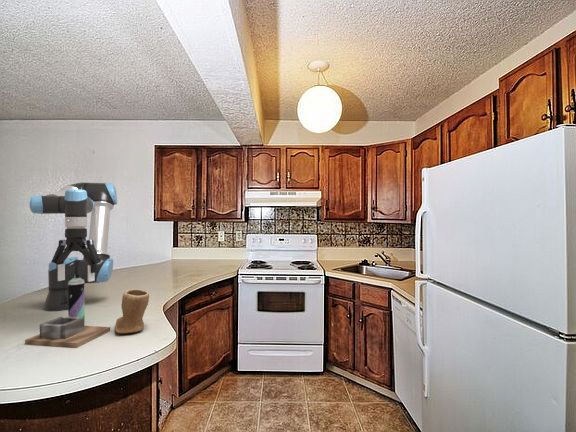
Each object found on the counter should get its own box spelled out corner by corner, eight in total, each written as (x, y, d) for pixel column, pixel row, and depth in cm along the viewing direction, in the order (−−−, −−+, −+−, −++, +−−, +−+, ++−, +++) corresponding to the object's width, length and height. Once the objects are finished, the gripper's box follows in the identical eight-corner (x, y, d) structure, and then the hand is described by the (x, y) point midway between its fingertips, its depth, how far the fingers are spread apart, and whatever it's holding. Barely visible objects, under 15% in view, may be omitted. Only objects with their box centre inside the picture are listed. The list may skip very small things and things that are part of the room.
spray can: (67, 327, 129) (67, 276, 129) (69, 323, 134) (69, 274, 134) (83, 325, 132) (83, 275, 132) (85, 321, 137) (84, 273, 137)
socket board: (24, 344, 113) (24, 326, 113) (64, 328, 128) (64, 312, 128) (76, 347, 109) (76, 329, 109) (110, 331, 125) (110, 315, 125)
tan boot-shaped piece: (149, 332, 123) (149, 292, 123) (113, 337, 118) (113, 295, 118) (148, 321, 137) (148, 284, 137) (116, 325, 132) (116, 287, 132)
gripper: (40, 228, 131) (40, 281, 131) (96, 228, 127) (97, 283, 127) (57, 227, 139) (57, 278, 139) (110, 227, 135) (110, 279, 134)
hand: (76, 280), depth 133 cm, fingers open, 13 cm apart
